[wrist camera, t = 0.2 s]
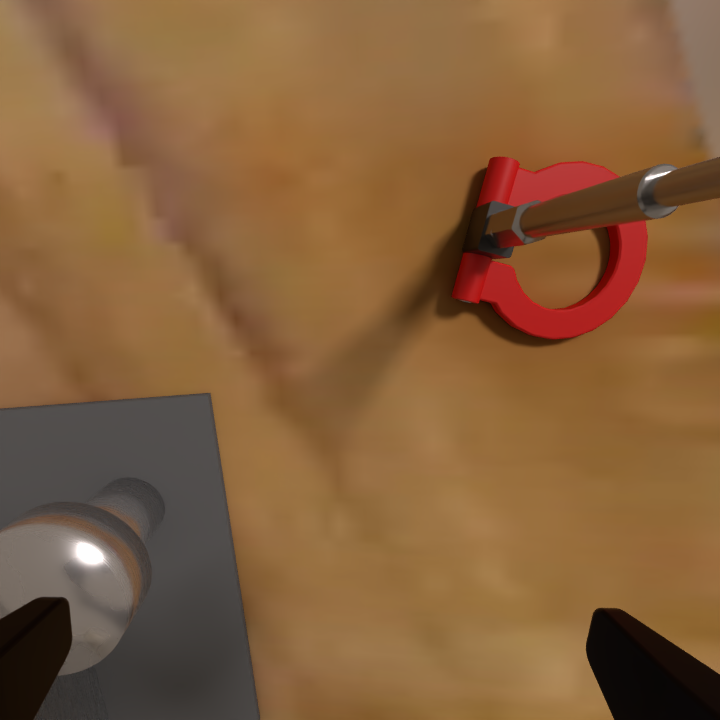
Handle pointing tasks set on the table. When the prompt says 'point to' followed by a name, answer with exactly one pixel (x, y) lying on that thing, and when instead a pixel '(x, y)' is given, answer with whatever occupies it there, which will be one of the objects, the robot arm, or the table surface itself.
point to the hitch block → (74, 698)
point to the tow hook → (565, 215)
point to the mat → (149, 545)
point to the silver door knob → (84, 563)
